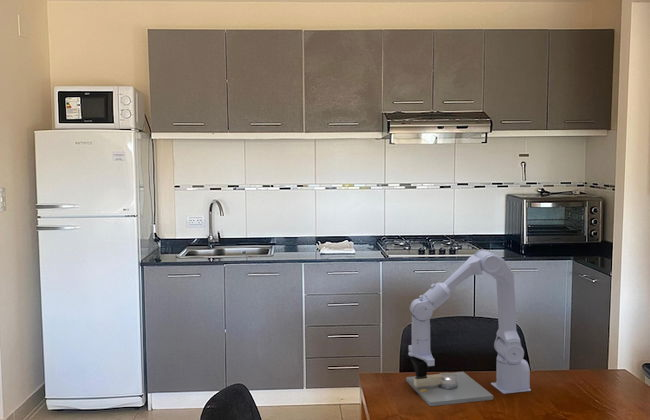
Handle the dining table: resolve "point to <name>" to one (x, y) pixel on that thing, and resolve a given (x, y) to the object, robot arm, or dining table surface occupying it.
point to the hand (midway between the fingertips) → (421, 380)
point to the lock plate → (452, 391)
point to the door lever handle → (438, 380)
